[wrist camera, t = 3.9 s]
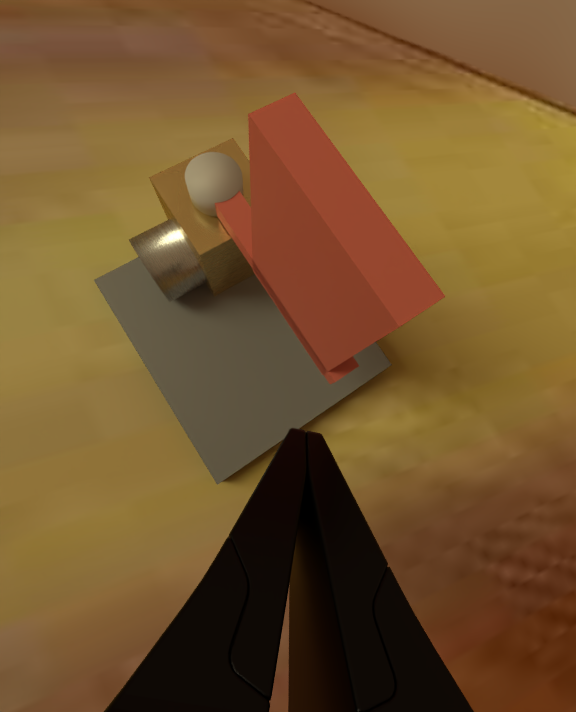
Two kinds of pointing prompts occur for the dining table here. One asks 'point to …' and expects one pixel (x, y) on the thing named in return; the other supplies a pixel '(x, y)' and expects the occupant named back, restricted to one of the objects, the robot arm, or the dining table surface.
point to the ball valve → (192, 236)
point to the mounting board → (227, 364)
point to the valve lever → (313, 237)
